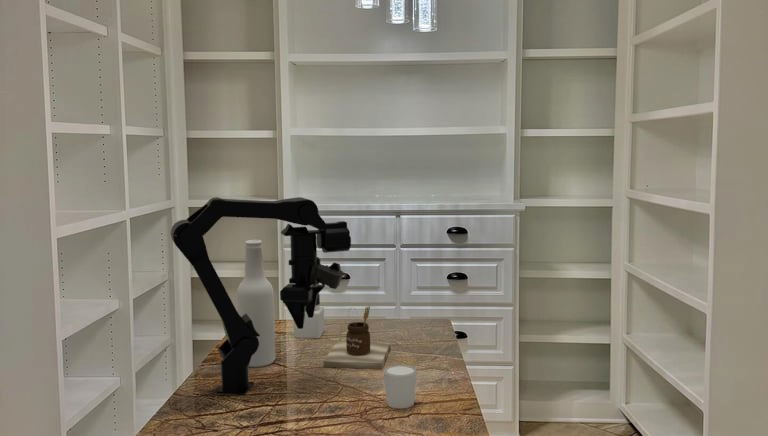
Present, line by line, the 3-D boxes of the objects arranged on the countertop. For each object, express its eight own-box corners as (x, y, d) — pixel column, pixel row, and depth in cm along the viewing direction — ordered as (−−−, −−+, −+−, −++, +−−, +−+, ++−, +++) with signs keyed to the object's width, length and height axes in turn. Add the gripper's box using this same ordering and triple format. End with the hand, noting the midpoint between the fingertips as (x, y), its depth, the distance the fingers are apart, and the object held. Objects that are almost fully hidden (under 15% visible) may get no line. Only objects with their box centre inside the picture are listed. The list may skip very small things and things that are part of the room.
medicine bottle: (324, 331, 190) (323, 289, 189) (319, 338, 183) (318, 295, 182) (299, 330, 191) (298, 289, 189) (294, 338, 184) (292, 295, 182)
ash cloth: (381, 369, 158) (381, 363, 158) (323, 367, 160) (323, 361, 160) (390, 348, 174) (390, 342, 174) (337, 346, 176) (337, 341, 175)
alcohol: (239, 369, 159) (234, 244, 156) (239, 357, 168) (235, 238, 164) (276, 366, 161) (272, 242, 157) (275, 355, 169) (271, 237, 166)
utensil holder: (356, 347, 170) (356, 300, 169) (376, 351, 166) (375, 304, 165) (341, 353, 166) (340, 305, 164) (361, 357, 162) (360, 309, 160)
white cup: (397, 394, 142) (397, 362, 142) (423, 402, 138) (423, 369, 137) (376, 404, 137) (376, 371, 136) (403, 412, 133) (403, 378, 132)
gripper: (330, 262, 139) (332, 335, 141) (347, 247, 157) (348, 312, 159) (278, 261, 140) (280, 334, 142) (301, 247, 159) (302, 311, 160)
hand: (305, 322), depth 151 cm, fingers open, 9 cm apart
